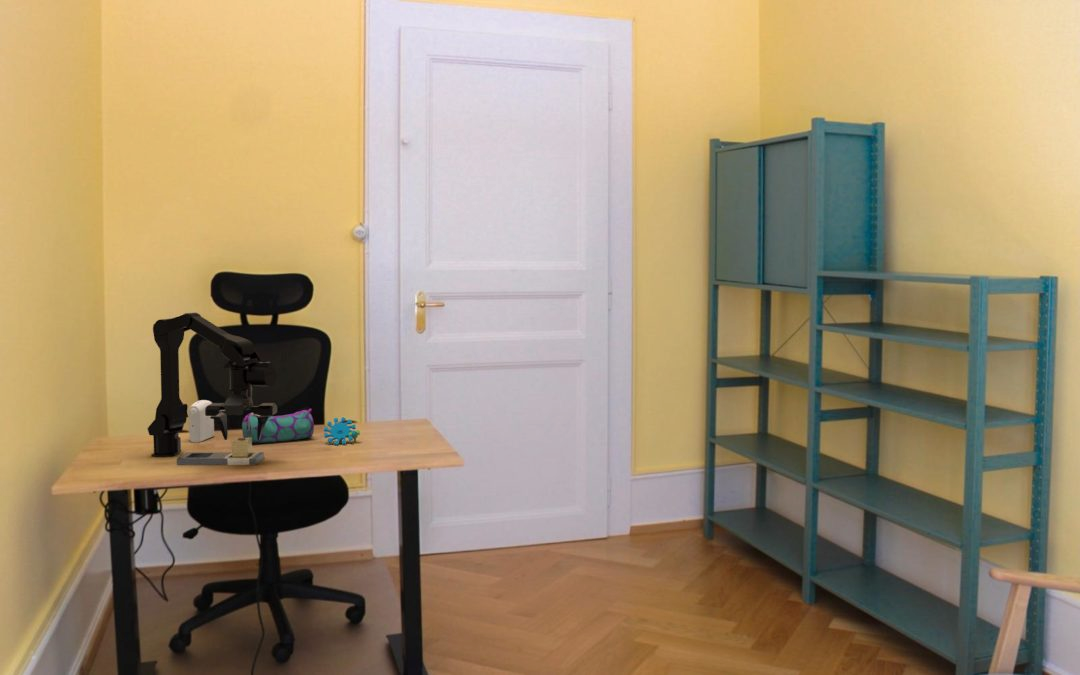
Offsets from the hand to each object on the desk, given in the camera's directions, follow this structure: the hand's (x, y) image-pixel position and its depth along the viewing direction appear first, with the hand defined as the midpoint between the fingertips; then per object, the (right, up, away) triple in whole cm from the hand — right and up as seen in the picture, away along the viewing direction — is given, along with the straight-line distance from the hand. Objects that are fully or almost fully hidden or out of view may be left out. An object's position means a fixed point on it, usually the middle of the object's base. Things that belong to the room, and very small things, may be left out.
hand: (242, 439), depth 270 cm
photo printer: (-23, -4, +32) cm, 40 cm away
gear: (+23, -4, +27) cm, 35 cm away
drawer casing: (-6, -6, +1) cm, 9 cm away
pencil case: (+2, -4, +30) cm, 30 cm away
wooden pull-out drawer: (0, -6, +1) cm, 6 cm away
